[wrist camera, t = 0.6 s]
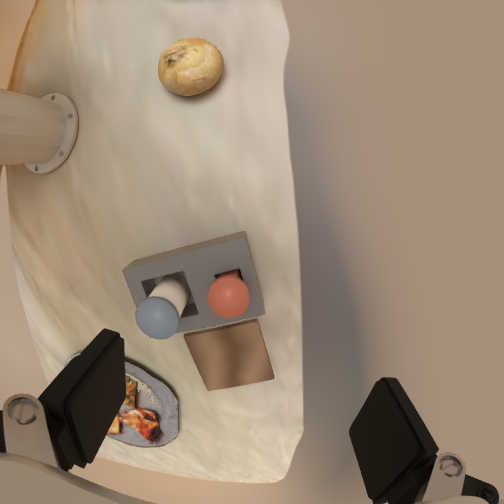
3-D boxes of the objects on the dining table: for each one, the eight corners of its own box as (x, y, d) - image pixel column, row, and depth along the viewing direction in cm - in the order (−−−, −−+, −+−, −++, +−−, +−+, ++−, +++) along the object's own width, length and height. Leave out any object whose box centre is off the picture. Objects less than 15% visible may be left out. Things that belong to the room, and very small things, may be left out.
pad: (208, 387, 43) (208, 390, 43) (184, 334, 41) (183, 336, 40) (273, 375, 43) (274, 378, 42) (257, 318, 40) (257, 321, 39)
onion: (208, 39, 30) (200, 15, 23) (235, 82, 32) (233, 62, 25) (155, 68, 31) (138, 49, 24) (180, 112, 33) (165, 98, 26)
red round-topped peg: (219, 297, 37) (214, 321, 31) (209, 266, 36) (201, 285, 29) (252, 289, 37) (253, 312, 30) (243, 257, 36) (242, 275, 29)
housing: (157, 323, 40) (149, 337, 36) (133, 261, 38) (122, 270, 34) (263, 300, 39) (264, 314, 35) (244, 231, 37) (244, 237, 33)
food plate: (180, 450, 48) (177, 462, 45) (83, 422, 47) (77, 432, 44) (181, 364, 43) (176, 376, 39) (61, 332, 42) (51, 341, 38)
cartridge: (167, 305, 39) (145, 342, 30) (155, 274, 38) (129, 304, 28) (198, 298, 39) (183, 335, 29) (187, 266, 38) (168, 295, 28)
